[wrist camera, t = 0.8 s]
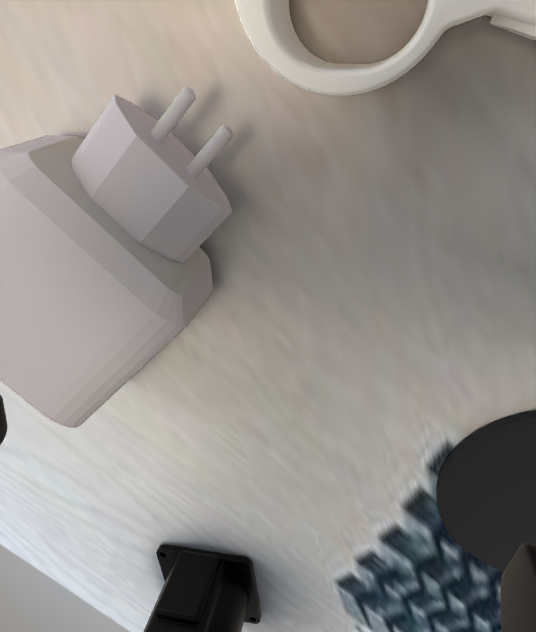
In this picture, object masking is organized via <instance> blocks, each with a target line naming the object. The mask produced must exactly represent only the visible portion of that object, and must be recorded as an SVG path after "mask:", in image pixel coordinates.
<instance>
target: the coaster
mask: <svg viewBox="0 0 536 632" xmlns="http://www.w3.org/2000/svg"><path fill="white" fill-rule="evenodd" d="M437 506H438V510H439V514H440V517H441V519H442V522H443V524H444V526H445V527H446V529H447V531H448V532H449V534H450V535H451V536H452V537H453V538H454V540H455V541H456V542H457V543H458V544H459V545H460V546H461V547H462V548H464V549H465V550H466V551H467V552H469V553H470V554H471V555H473V556H474V557H475V558H477V559H479V560H481V561H482V562H484V563H486V564H488V565H490V566H492V567H494V568H497V569H499V570H502V571H505V569H506V567H507V566H508V564H509V563H510V561H511V559H512V558H513V556H514V555H515V553H516V552H517V550H518V548H519V547H520V546H521V545H522V544H524V543H531V544H534V545H536V411H530V412H525V413H520V414H517V415H513V416H509V417H506V418H503V419H501V420H498V421H495V422H493V423H490V424H488V425H487V426H485V427H483V428H481V429H479V430H477V431H476V432H474V433H473V434H471V435H470V436H468V437H467V438H465V439H464V440H463V441H462V442H461V443H460V444H459V445H458V446H456V447H455V449H454V450H453V451H452V452H451V453H450V455H449V456H448V457H447V459H446V461H445V462H444V464H443V466H442V468H441V471H440V473H439V476H438V481H437Z"/></svg>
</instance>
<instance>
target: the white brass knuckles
mask: <svg viewBox="0 0 536 632" xmlns="http://www.w3.org/2000/svg"><path fill="white" fill-rule="evenodd" d="M235 3H236V7H237V11H238V14H239V18H240V20H241V23H242V25H243V28H244V30H245V32H246V34H247V36H248V38H249V40H250V42H251V44H252V45H253V47H254V48H255V50H256V51H257V53H258V54H259V55H260V57H261V58H262V59H263V60H264V61H265V63H266V64H267V65H268V66H269V67H270V68H271V69H272V70H273V71H275V72H276V73H277V74H278V75H279V76H281V77H282V78H284V79H285V80H286V81H288V82H290V83H291V84H293V85H295V86H297V87H299V88H302V89H304V90H307V91H310V92H313V93H317V94H321V95H328V96H350V95H357V94H362V93H366V92H369V91H373V90H375V89H378V88H380V87H383V86H385V85H387V84H389V83H391V82H392V81H394V80H396V79H398V78H399V77H401V76H402V75H403V74H405V73H406V72H408V71H409V70H410V69H411V68H413V67H414V66H415V65H416V64H417V63H418V62H419V61H420V60H421V59H422V58H423V57H424V56H425V55H426V54H427V53H428V52H429V51H430V49H431V48H432V47H433V46H434V44H435V43H436V42H437V40H438V39H439V38H440V36H441V35H442V33H443V32H444V31H446V30H447V29H448V28H450V27H453V26H456V25H458V24H461V23H464V22H467V21H470V20H472V19H475V18H478V17H481V16H484V15H487V16H490V17H492V19H491V21H490V24H492V25H494V26H497V27H499V28H502V29H504V30H507V31H510V32H512V33H515V34H518V35H521V36H523V37H526V38H529V39H532V40H534V41H536V0H428V1H427V6H426V10H425V14H424V16H423V19H422V21H421V24H420V26H419V28H418V29H417V31H416V33H415V34H414V36H413V37H412V38H411V40H410V41H409V42H408V43H407V44H406V45H405V46H404V47H403V48H402V49H401V50H400V51H398V52H397V53H395V54H394V55H392V56H391V57H389V58H387V59H385V60H382V61H379V62H375V63H370V64H338V63H331V62H327V61H324V60H322V59H320V58H318V57H316V56H315V55H313V54H312V53H311V52H310V51H308V50H307V49H306V48H305V46H304V45H303V44H302V43H301V41H300V40H299V38H298V36H297V35H296V33H295V30H294V28H293V25H292V22H291V17H290V11H289V0H235Z"/></svg>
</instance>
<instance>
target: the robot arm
mask: <svg viewBox="0 0 536 632" xmlns="http://www.w3.org/2000/svg"><path fill="white" fill-rule="evenodd" d="M6 432H7V421H6V415H5V409H4V404H3V399H2V396H1V395H0V445H1V443H2V442H3V440H4V438H5V436H6ZM156 553H157V557H158V560H159V563H160V567H161V570H162V573H163V576H164V580H165V584H164V586H163V588H162V591H161V593H160V595H159V597H158V600H157V602H156V604H155V607H154V609H153V611H152V613H151V616H150V618H149V620H148V623H147V625H146V627H145V629H144V632H241V630H242V626H243V622H248V623H253V624H257V623H259V622H260V619H261V610H260V604H259V599H258V593H257V587H256V582H255V576H254V570H253V565H252V561H251V560H250V559H248V558H247V557H243V556H236V555H230V554H223V553H216V552H210V551H203V550H196V549H190V548H183V547H177V546H170V545H160V546H159V548H158V550H157V552H156ZM501 632H536V545H534V544H531V543H524V544H522V545H521V546H520V547H519V548H518V550H517V552H516V553H515V555H514V556H513V558H512V559H511V561H510V563H509V564H508V566H507V567H506V569H505V571H504V573H503V575H502V579H501Z"/></svg>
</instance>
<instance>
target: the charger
mask: <svg viewBox="0 0 536 632" xmlns="http://www.w3.org/2000/svg"><path fill="white" fill-rule="evenodd" d="M195 99H196V95H195V93H194V91H193V90H192V89H190V88H188V87H183V89H182V90H181V91H180V93H179V94H178V95H177V97H176V98H175V99H174V101H173V102H172V103H171V105H170V106H169V108H168V109H167V110H166V112H165V113H164V114H163V116H162V117H161V118H160V120H159V121H157V120H156V119H154V118H153V117H152V116H150V115H149V114H147V113H146V112H144V111H143V110H142V109H140V108H139V107H137V106H136V105H134V104H133V103H132V102H130V101H128V100H126V99H123V98H121V97H119V96H117V95H115V94H114V95H113V97H112V98H111V100H110V101H109V103H108V104H107V106H106V107H105V109H104V110H103V112H102V113H101V115H100V116H99V118H98V119H97V121H96V122H95V124H94V125H93V127H92V128H91V130H90V131H89V133H88V134H87V136H86V137H85V139H84V138H82V137H80V136H52V135H47V136H43V137H40V138H37V139H33V140H30V141H27V142H24V143H20V144H17V145H14V146H10V147H7V148H4V149H0V380H1V381H2V382H3V383H4V384H6V385H7V386H8V387H9V388H11V389H12V390H13V391H14V392H16V393H17V394H18V395H19V396H21V397H22V398H23V399H24V400H26V401H27V402H28V403H29V404H30V405H32V406H33V407H34V408H35V409H37V410H38V411H39V412H40V413H42V414H43V415H45V416H46V417H47V418H49V419H50V420H52V421H54V422H56V423H58V424H60V425H63V426H66V427H78V426H80V425H81V424H82V423H83V422H85V421H86V420H87V419H88V418H89V417H90V416H91V415H92V414H93V413H94V412H95V411H96V410H97V409H98V408H100V407H101V406H102V405H103V404H104V403H105V402H106V401H107V400H108V399H109V398H110V397H111V396H112V395H113V394H114V393H116V392H117V391H118V390H119V389H120V388H121V387H122V386H123V385H124V384H125V383H126V382H127V381H128V380H129V379H131V378H132V377H133V376H134V375H135V374H136V373H137V372H138V371H139V370H140V369H141V368H142V367H143V366H144V365H145V364H147V363H148V362H149V361H150V360H151V359H152V358H153V357H154V356H155V355H156V354H157V353H158V352H159V351H160V350H162V349H163V348H164V347H165V346H166V345H167V344H168V343H169V342H170V341H171V340H172V339H173V338H174V337H175V336H176V335H178V334H179V333H180V332H181V331H182V330H183V329H184V328H185V327H186V326H187V325H188V324H189V323H190V321H191V320H192V319H193V317H194V316H195V314H196V313H197V312H198V310H199V309H200V308H201V306H202V305H203V304H204V302H205V301H206V300H207V298H208V297H209V296H210V294H211V293H212V291H213V281H212V273H211V265H210V260H209V258H208V256H207V255H206V253H205V252H204V251H203V250H202V249H201V248H200V247H199V246H200V245H201V244H202V243H203V242H204V241H205V240H206V239H207V238H208V237H209V236H210V235H211V234H212V233H213V232H214V230H215V229H216V228H217V227H218V226H219V225H220V224H221V223H222V222H223V221H224V220H225V219H226V218H227V217H228V216H229V215H230V214H231V213H232V212H233V211H232V208H231V205H230V203H229V200H228V198H227V196H226V195H225V193H224V192H223V190H222V189H221V187H220V186H219V184H218V183H217V181H216V180H215V178H214V177H213V175H212V174H211V172H210V171H209V169H208V168H207V166H208V165H209V164H210V162H211V161H212V160H213V159H214V158H215V157H216V156H217V154H218V153H219V152H220V151H221V150H222V149H223V147H224V146H225V145H226V144H227V143H228V142H229V140H230V139H231V138H232V137H233V134H232V131H231V129H230V128H229V127H227V126H225V125H221V126H220V128H219V129H218V130H217V131H216V132H215V134H214V135H213V136H212V137H211V138H210V140H209V141H208V142H207V143H206V144H205V146H204V147H203V148H202V149H201V150H200V152H199V153H198V154H197V155H196V156H195V155H194V154H193V153H192V152H191V151H190V150H189V149H188V148H187V147H186V146H185V145H184V144H183V143H182V142H181V141H180V140H179V139H178V138H177V137H176V136H175V135H174V134H173V133H172V132H171V130H172V129H173V128H174V126H175V125H176V124H177V122H178V121H179V120H180V119H181V117H182V116H183V115H184V113H185V112H186V111H187V110H188V108H189V107H190V106H191V104H192V103H193V102H194V100H195Z"/></svg>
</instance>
